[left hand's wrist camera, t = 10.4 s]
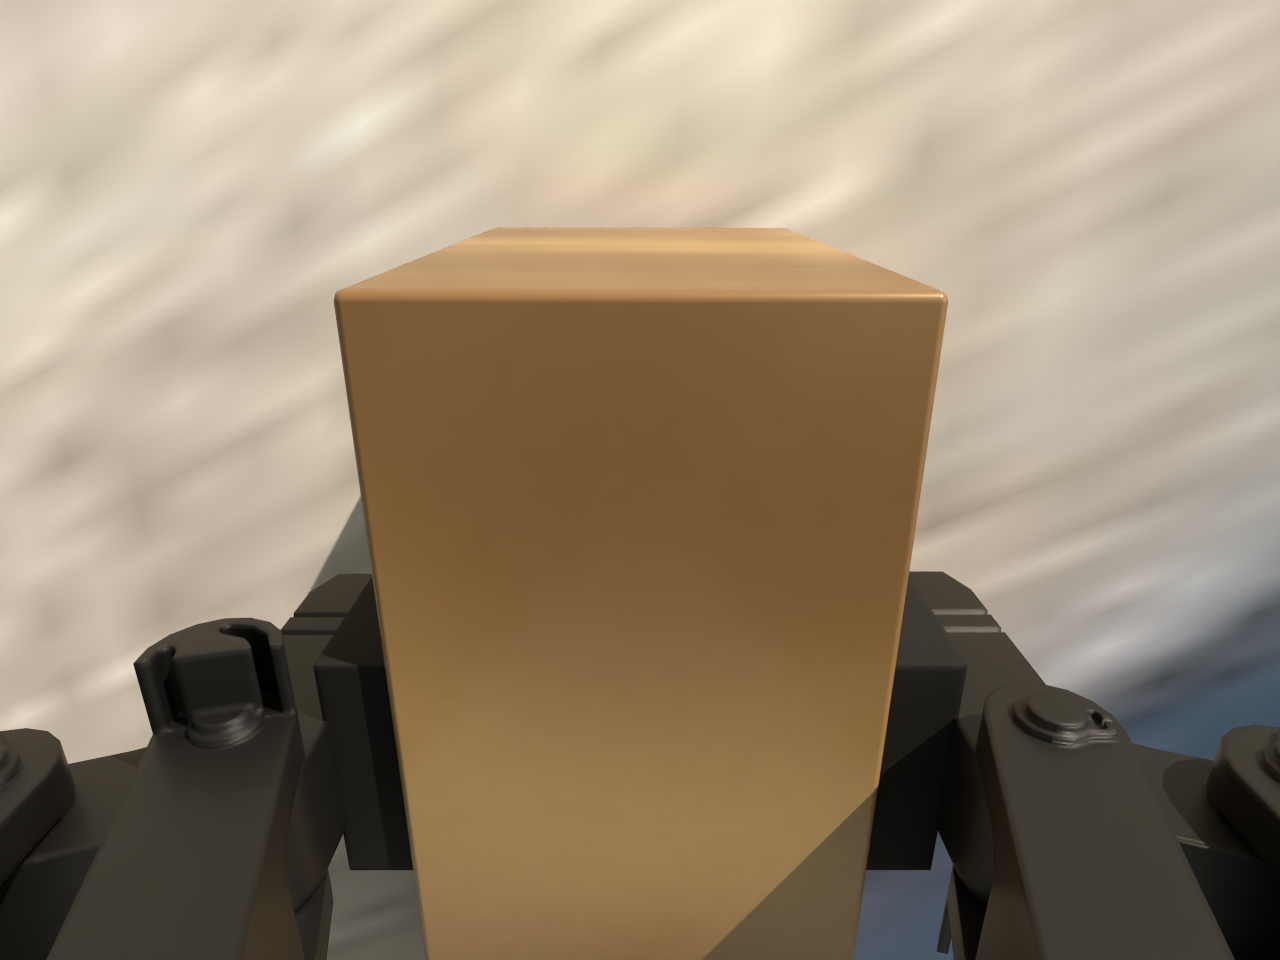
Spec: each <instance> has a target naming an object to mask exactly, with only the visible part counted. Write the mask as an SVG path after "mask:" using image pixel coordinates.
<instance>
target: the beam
mask: <svg viewBox="0 0 1280 960" xmlns="http://www.w3.org/2000/svg"><path fill="white" fill-rule="evenodd" d="M334 306H335V313H336V320H337V328H338V335H339V342H340V349H341V356H342V363H343V370H344V378H345V385H346V392H347V399H348V406H349V413H350V420H351V428H352V435H353V442H354V449H355V456H356V463H357V470H358V478H359V485H360V492H361V499H362V506H363V513H364V520H365V528H366V535H367V542H368V549H369V556H370V563H371V570H372V577H373V585H374V592H375V599H376V606H377V613H378V620H379V627H380V635H381V642H382V649H383V656H384V663H385V670H386V677H387V685H388V692H389V699H390V706H391V713H392V720H393V727H394V735H395V742H396V749H397V756H398V763H399V770H400V777H401V785H402V792H403V799H404V806H405V813H406V820H407V828H408V835H409V842H410V849H411V856H412V863H413V870H414V878H415V885H416V892H417V899H418V906H419V913H420V920H421V928H422V935H423V942H424V949H425V956H426V960H853V958H854V951H855V944H856V937H857V930H858V923H859V916H860V909H861V902H862V895H863V888H864V881H865V874H866V867H867V861H868V854H869V847H870V840H871V833H872V826H873V819H874V812H875V805H876V798H877V791H878V784H879V777H880V770H881V763H882V756H883V750H884V743H885V736H886V729H887V722H888V715H889V708H890V701H891V694H892V687H893V680H894V673H895V666H896V659H897V652H898V645H899V639H900V632H901V625H902V618H903V611H904V604H905V597H906V590H907V583H908V576H909V569H910V562H911V555H912V548H913V541H914V535H915V528H916V521H917V514H918V507H919V500H920V493H921V486H922V479H923V472H924V465H925V458H926V451H927V444H928V437H929V430H930V424H931V417H932V410H933V403H934V396H935V389H936V382H937V375H938V368H939V361H940V354H941V347H942V340H943V333H944V326H945V319H946V313H947V306H948V299H947V296H946V293H944V292H942V291H940V290H937V289H935V288H932V287H930V286H927V285H925V284H922V283H920V282H918V281H915V280H913V279H910V278H908V277H905V276H903V275H900V274H898V273H895V272H893V271H890V270H888V269H885V268H883V267H880V266H878V265H876V264H873V263H871V262H868V261H866V260H863V259H861V258H858V257H856V256H853V255H851V254H848V253H846V252H843V251H841V250H838V249H836V248H834V247H831V246H829V245H826V244H824V243H821V242H819V241H816V240H814V239H811V238H809V237H806V236H804V235H801V234H799V233H797V232H794V231H792V230H789V229H787V228H494V229H492V230H489V231H487V232H484V233H482V234H479V235H477V236H474V237H472V238H469V239H467V240H464V241H462V242H459V243H457V244H454V245H452V246H449V247H447V248H444V249H442V250H439V251H437V252H434V253H432V254H429V255H427V256H424V257H422V258H419V259H417V260H414V261H412V262H409V263H407V264H404V265H402V266H399V267H397V268H394V269H392V270H389V271H387V272H384V273H382V274H379V275H377V276H374V277H372V278H369V279H367V280H364V281H362V282H359V283H357V284H354V285H352V286H349V287H347V288H344V289H342V290H340V291H337V292H336V294H335V297H334Z"/></svg>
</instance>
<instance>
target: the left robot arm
mask: <svg viewBox="0 0 1280 960" xmlns="http://www.w3.org/2000/svg"><path fill="white" fill-rule="evenodd" d="M133 664H134V668H135V671H136V675H137V679H138V682H139V686H140V689H141V693H142V696H143V700H144V703H145V707H146V711H147V714H148V718H149V721H150V725H151V728H152V732H153V736H152V738H151V740H150V742H149V744H148V746H147V747H145V748H142V749H138V750H134V751H130V752H125V753H120V754H116V755H111V756H106V757H101V758H96V759H91V760H86V761H82V762H77V763H72V764H68V763H67V760H66V757H65V754H64V751H63V748H62V745H61V742H60V740H58V739H57V738H56V737H54V736H53V735H52V734H51V733H49V732H48V731H42V730H35V729H27V728H24V729H16V730H8V731H0V960H326V958H327V949H328V941H329V933H330V924H331V916H332V908H333V896H332V889H331V882H330V877H329V872H328V866H329V864H330V862H331V859H332V857H333V855H334V853H335V850H336V848H337V846H338V844H339V842H340V839H341V837H342V835H343V834H344V839H345V845H346V850H347V856H348V861H349V867H350V870H413V863H412V856H411V849H410V842H409V835H408V828H407V820H406V813H405V806H404V799H403V792H402V785H401V777H400V770H399V763H398V756H397V749H396V742H395V735H394V727H393V720H392V713H391V706H390V699H389V692H388V685H387V677H386V670H385V663H384V656H383V649H382V642H381V635H380V627H379V620H378V613H377V606H376V599H375V592H374V585H373V577H372V574H338V575H337V576H335V577H334V578H332V579H330V580H329V581H327V582H326V583H324V584H322V585H321V586H319V587H318V588H316V589H315V590H313V591H311V592H310V593H309V594H308V596H307V597H306V598H305V600H304V601H303V602H302V603H301V605H300V606H299V607H298V609H297V610H296V611H295V612H294V617H290V619H289V620H288V621H287V623H286V624H285V625H284V626H283V628H282V629H281V630H279V629H278V628H277V627H276V626H274V625H273V624H272V623H270V622H267V621H263V620H258V619H253V618H227V619H220V620H216V621H211V622H206V623H201V624H197V625H194V626H191V627H189V628H186V629H184V630H181V631H178V632H176V633H173V634H170V635H169V636H167V637H165V638H164V639H162V640H160V641H159V642H157V643H155V644H154V645H152V646H151V647H149V648H147V649H146V651H145V652H144V653H143V654H142V655H141V656H140V657H139V658H138V659H137V660H136V661H135V662H134V663H133ZM937 832H939V834H940V836H941V838H942V840H943V843H944V845H945V847H946V849H947V852H948V854H949V856H950V858H951V860H952V863H953V867H952V872H951V877H950V882H949V887H948V892H947V898H946V903H945V908H944V913H943V918H942V923H941V928H940V933H939V940H938V947H937V952H942V953H946V954H948V950H949V945H950V940H951V939H952V947H953V956H954V960H1280V728H1278V727H1270V726H1262V725H1251V726H1244V727H1237V728H1233V729H1232V730H1231V731H1229V732H1228V733H1227V734H1226V735H1224V736H1223V737H1222V739H1221V742H1220V745H1219V748H1218V751H1217V754H1216V757H1215V760H1214V761H1211V760H1207V759H1202V758H1197V757H1192V756H1187V755H1182V754H1177V753H1172V752H1168V751H1163V750H1158V749H1153V748H1149V747H1145V746H1141V745H1137V744H1134V743H1131V740H1130V738H1129V736H1128V734H1127V733H1126V731H1125V730H1124V729H1123V727H1122V726H1121V725H1120V724H1119V722H1118V721H1117V720H1116V718H1115V717H1114V716H1113V715H1111V714H1110V713H1108V712H1107V711H1106V710H1104V709H1103V708H1101V707H1100V706H1099V705H1097V704H1096V703H1094V702H1093V701H1091V700H1088V699H1086V698H1084V697H1082V696H1079V695H1077V694H1075V693H1073V692H1070V691H1068V690H1065V689H1061V688H1056V687H1052V686H1048V685H1046V684H1045V683H1044V682H1043V680H1042V679H1041V678H1040V677H1039V675H1038V674H1037V673H1036V672H1035V670H1034V669H1033V668H1032V666H1031V665H1030V664H1029V663H1028V661H1027V660H1026V659H1025V658H1024V656H1023V655H1022V654H1021V653H1020V651H1019V650H1018V649H1017V647H1016V646H1015V645H1014V644H1013V642H1012V641H1011V640H1010V639H1009V637H1008V636H1007V635H1006V633H1005V632H1001V627H1000V626H999V625H998V623H997V622H996V621H995V619H994V618H993V617H992V616H991V615H988V613H987V609H986V608H985V607H984V606H983V604H982V603H981V602H980V600H979V599H978V598H977V597H976V595H975V594H974V593H973V592H972V590H971V589H969V588H968V587H966V586H964V585H963V584H961V583H960V582H958V581H956V580H955V579H953V578H952V577H950V576H949V575H947V574H945V573H944V572H909V576H908V583H907V590H906V597H905V604H904V611H903V618H902V625H901V632H900V639H899V645H898V652H897V659H896V666H895V673H894V680H893V687H892V694H891V701H890V708H889V715H888V722H887V729H886V736H885V743H884V750H883V756H882V763H881V770H880V777H879V784H878V791H877V798H876V805H875V812H874V819H873V826H872V833H871V840H870V847H869V854H868V861H867V867H866V870H931V865H932V859H933V854H934V848H935V843H936V837H937Z"/></svg>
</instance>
